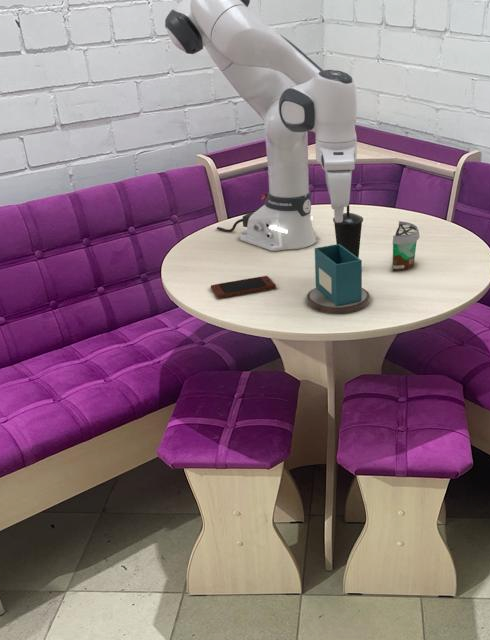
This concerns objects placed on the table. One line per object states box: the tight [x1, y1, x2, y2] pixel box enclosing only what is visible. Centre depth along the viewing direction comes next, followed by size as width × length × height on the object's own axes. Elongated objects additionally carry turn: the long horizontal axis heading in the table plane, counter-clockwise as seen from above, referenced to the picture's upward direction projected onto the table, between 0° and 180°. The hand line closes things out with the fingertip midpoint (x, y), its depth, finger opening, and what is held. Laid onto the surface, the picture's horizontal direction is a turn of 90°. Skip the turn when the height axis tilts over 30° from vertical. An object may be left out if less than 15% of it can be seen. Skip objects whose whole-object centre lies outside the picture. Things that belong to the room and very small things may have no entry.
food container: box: [392, 220, 421, 272], centre depth 195 cm, size 12×6×10 cm, turn 168°
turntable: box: [306, 287, 371, 315], centre depth 179 cm, size 15×15×2 cm
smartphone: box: [210, 275, 277, 299], centre depth 185 cm, size 7×1×15 cm
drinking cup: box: [332, 203, 364, 259], centre depth 191 cm, size 8×8×20 cm
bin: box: [314, 243, 363, 306], centre depth 176 cm, size 7×12×10 cm, turn 25°
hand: (336, 214), depth 168 cm, fingers open, 8 cm apart
